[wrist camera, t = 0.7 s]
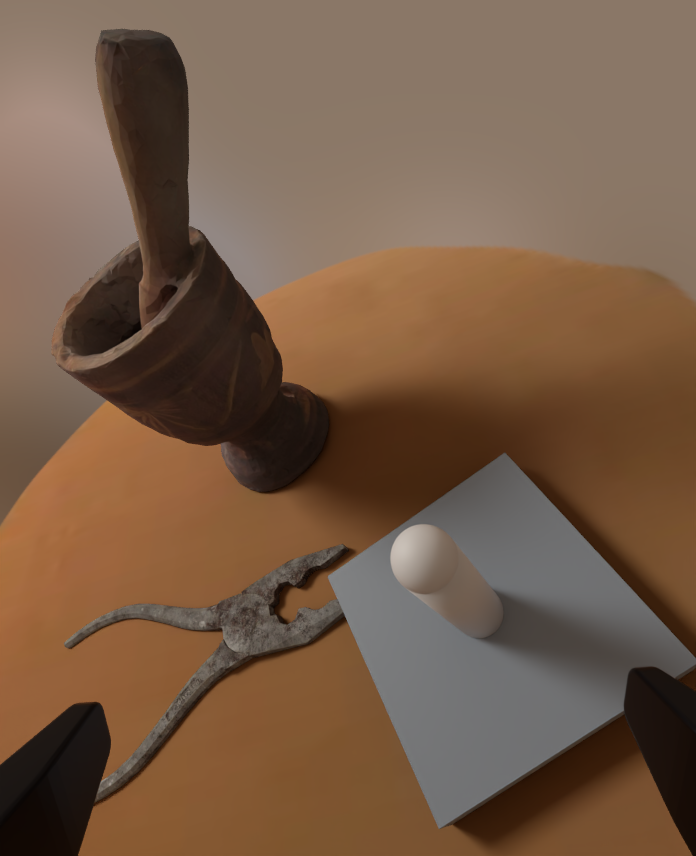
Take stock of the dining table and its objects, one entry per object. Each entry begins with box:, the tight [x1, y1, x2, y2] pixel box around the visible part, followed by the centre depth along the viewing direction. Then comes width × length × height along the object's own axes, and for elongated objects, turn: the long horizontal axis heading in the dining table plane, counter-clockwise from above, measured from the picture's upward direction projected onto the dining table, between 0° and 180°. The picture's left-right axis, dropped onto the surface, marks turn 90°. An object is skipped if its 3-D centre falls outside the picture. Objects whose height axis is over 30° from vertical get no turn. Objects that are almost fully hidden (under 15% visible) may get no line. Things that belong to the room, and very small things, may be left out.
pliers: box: [64, 544, 349, 803], centre depth 26 cm, size 10×1×20 cm
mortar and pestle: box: [51, 29, 329, 492], centre depth 24 cm, size 12×9×20 cm
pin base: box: [328, 453, 696, 829], centre depth 17 cm, size 10×10×9 cm
